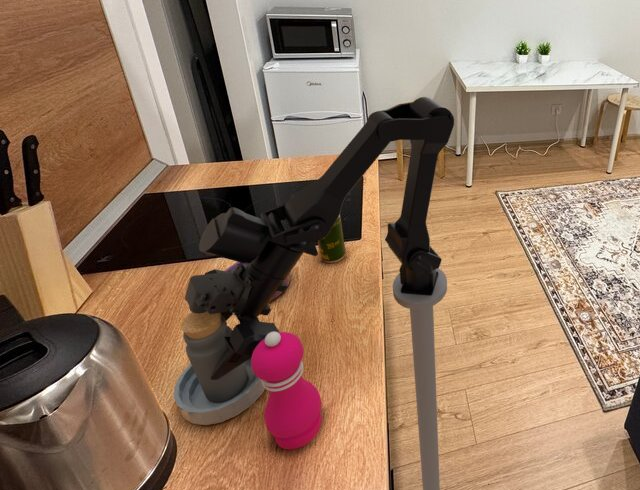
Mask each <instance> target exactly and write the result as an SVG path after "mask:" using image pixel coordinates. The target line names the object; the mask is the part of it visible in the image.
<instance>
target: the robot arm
mask: <svg viewBox="0 0 640 490" xmlns="http://www.w3.org/2000/svg"><path fill="white" fill-rule="evenodd" d="M454 126H455V116H454V115H453V113H452V111H451V110H450V109H448V108H447V107H445V106H444V105H441V104H440V103H439V102H437V101H436V100H434V99H433V98H431V97H427V96H421V97H419V98H416V99H415V100H413V101H410V102H404V103H399V104H395V105H394V106H392V107H390V108H387V109H383V110H377V111H374V112H372V113H370V114H369V116H368V117H367V119H366V122H365V123H364V125H363V126H362V127H361V128H360V129H359V130H358V132H357V133H356V135H355V136H354V137H353V138H352V139H351V141H349V143H348V144H347V145H346V146H345V148H344V149H343V150H342V151H341V152H340V154H339V155H338V156H337V158H336V159H335V160H334V161H333V162H332V163H331V164H330V166H329V167H328V168H327V169H326V170H325V172H324V173H323V174H322V176H320V177H319V178H318V179H317V180H315V181H313V182H312V183H310V184H308V185H305V186H304V187H302V188H301V189H300V190H299V191H297V193H295V194H294V195H293V196H292V197H291V198H290V199H289V200H288V201H286V202H284V203H282V204H279V205H277V206H274V207H272V208H269V209H267V210H264V211H262V212H261V213H260V217H261V218H260V217H258V216H254V215H251V214H249V213H246V212H244V211H243V210H242V209H239V208H237V207H233V206H232V207H230V208H228V209H227V211H226V212H222V213H220V214H218V215H217V216H216V217H215V218H212V219H211V220H210V221H209V222H208V224H207V226H206V227H205V229H204V231H203V233H202V235H201V237H200V239H199V242H198V243H199V244H198V249H199V251H200V252H202V253H204V254H208V255H211V256H214V257H215V256H216V257H219V258H223V259H226V260H229V261H230V260H231V261H233V262H236V263H237V262H241V263H242V264H241V265H240V266H238V267H237V268H236V269H235V271H234V272H233V273H232V272H227V271H225V270H222V269H217V268H214V269H211V270H209V271H207V272H204V274H196V275H195V274H194V275H193V276H190V278H189V281H188V284H187V288H186V292H185V295H184V301H185V302H186V303H187V304H188V307H189V310H190V313H192V312H193V313H198V314H199V313H205V312H206V311H207V312H208V313H209V314H215V313H221V316H223V317H224V318H225V320H226V322H227V321H228V320H229V319H230V318H231V317H232V316H235V318H237V320H238V322H239V323H238V324H236V325H234V327H233V328H232V332H231V336H230V337H227V336H225V337H224V339H225V342H226V344H227V348H226V350H225V351H224V353H223V355H222V357H221V358H220V360H219V362H218V363H217V365H216V367H215V369H214V370H213V372H212V374H211V377H210V379H211V380H218V379H220V378H221V377H223V376H224V375H226V374H227V373H229V372H230V371H232V370H233V369H235V368H236V367H238V366H239V365H241V364H242V363H244V362H245V361H247V360H249V359H250V358H252V354H253V351H254V349H255V348H256V346H257V345H258V344H259V343H260V342H261V341H262V340H263V339H265V337H266V336H267V334H269V333H270V332H278V333H279V332H280V330H279V329H278V327H277V326H276V325H275V323H274V322H266V321H261V320H260V319H259V318H258V317H259V316H269V314H270V313H271V312H272V308H271V306H270V305H269V304H270V302H271V301H272V300H271V299H272V298H273V297H274V295H275V294H276V292H277V291H280V292H282V293H284V292H285V291H286V289H287V288H288V286H287V285H286V284H285V283H284V281H285V279H286V278H287V276H288V275H289V273H290V274H291V272H292V271H293V269H294V268H295V266H296V265H297V263H298V261H299V260H300V259H301V257H302V256H303V255H304V254H307V255H310V256H313V257H316V256H318V255H319V252H318V248H317V245H316V242H318V241H320V240H322V239H323V238H324V237H325V236H327V235H328V234H329V232H330V231H331V229H332V227H333V226H334V224H335V222H336V220H337V219H338V217H339V215H340V216H341V211H342V208H343V204H344V201H345V200H346V197H347V196H348V195H349V194H350V192H351V191H352V190H353V188H354V187H355V186H356V185H357V183H358V182H360V180H361V179H362V177H363V176H364V175H365V174H366V172H368V170H369V169H370V167H372V165H373V164H374V163H375V161H376V160H377V159H378V158H379V157H380V156H381V154H382V153H383V152H384V150H385V149H386V148H387V147H388V146H389V144H390V143H391V142H396V141H409V142H410V148H411V149H410V154H409V155H410V156H409V160H408V161H409V162H408V167H407V168H408V169H407V174H406V180H405V185H404V192H403V193H404V194H403V200H402V205H401V213H400V216H399V218H398V219H397V220H396V221H395V222H389V223H387V234H386V236H385V239H384V241H385V242H386V243H387V246H388V247H389V249H390V251H391V252H392V253H393V254H394V256H395V257H396V258H397V260H398V261H399V262H400V263H401V264H400V267H399V273H400V282H401V284H403V285H402V288H401V293H405V294H417V295H429V296H431V295H432V294H433V292H434V288H435V285H436V281H437V278H438V272H436V269H438V268H439V269H440V266H441V263H442V258H441V257H440V255H439V254H438V253H437V252H436V251H435V249H434V248H432V246H431V239H430V234H429V229H428V227H427V220H428V219H427V218H428V215H429V214H428V213H429V207H430V203H431V197H432V190H433V186H434V182H435V181H434V179H435V175H436V169H437V163H438V158H439V154H440V153H441V151H442V150H443V149H444V148H445V147H446V146H447V144H448V143H449V141H450V138H451V135H452V132H453V129H454ZM282 221H286V223H287V225H288V227H289V228H287V229H285V227H284V225H283V222H282ZM317 240H318V241H317ZM246 262H247V263H249V264H248V265H247V264H243V263H246Z"/></svg>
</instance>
